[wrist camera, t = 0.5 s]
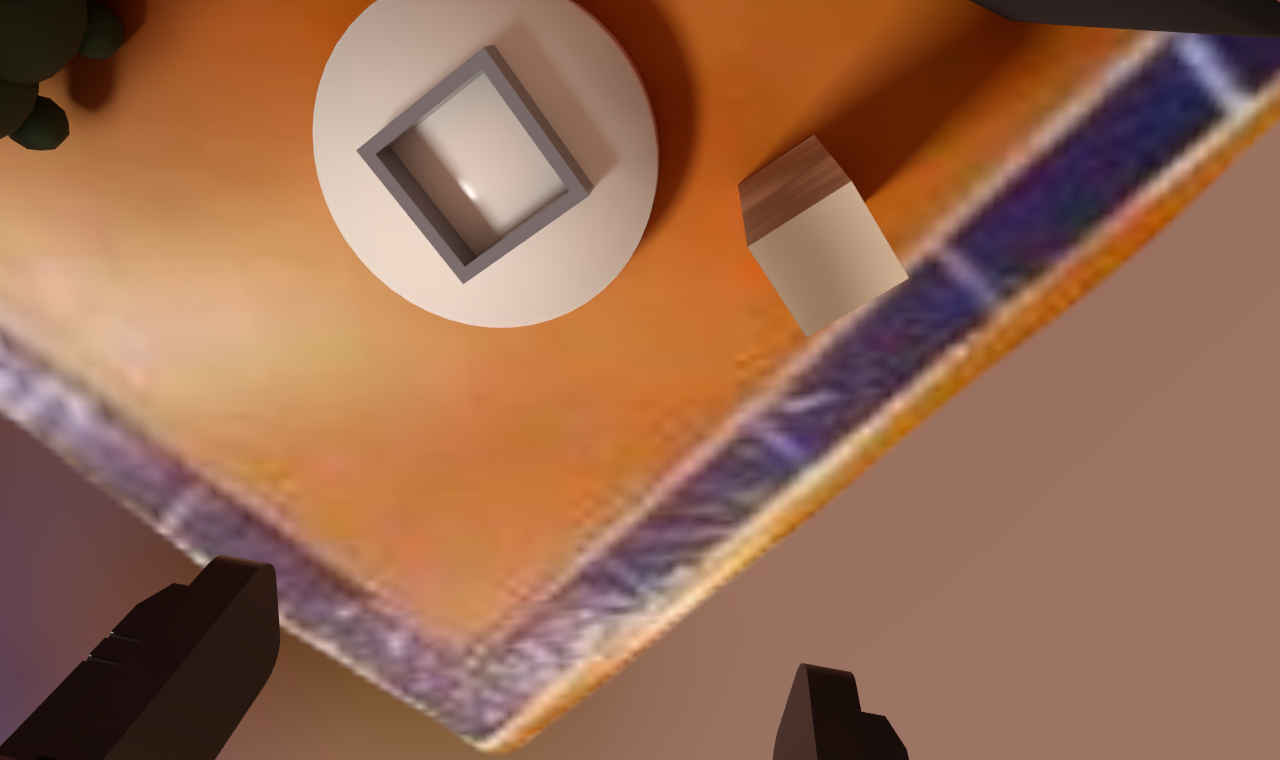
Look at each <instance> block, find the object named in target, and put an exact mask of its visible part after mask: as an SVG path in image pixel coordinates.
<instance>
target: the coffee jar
mask: <svg viewBox="0 0 1280 760" xmlns="http://www.w3.org/2000/svg"><path fill="white" fill-rule="evenodd" d="M970 1H972V2H974V3H976V4H978V5H980V6H982V7H984V8H986V9H988V10H990V11H992V12H994V13H996V14H998V15H1000V16H1002V17H1004V18H1007V19H1009V20H1012V21H1022V22H1033V23H1044V24H1054V25H1068V26H1084V27H1101V28H1117V29H1134V30H1150V31H1167V32H1183V33H1200V34H1216V35H1233V36H1249V37H1266V38H1280V0H970Z"/></svg>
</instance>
